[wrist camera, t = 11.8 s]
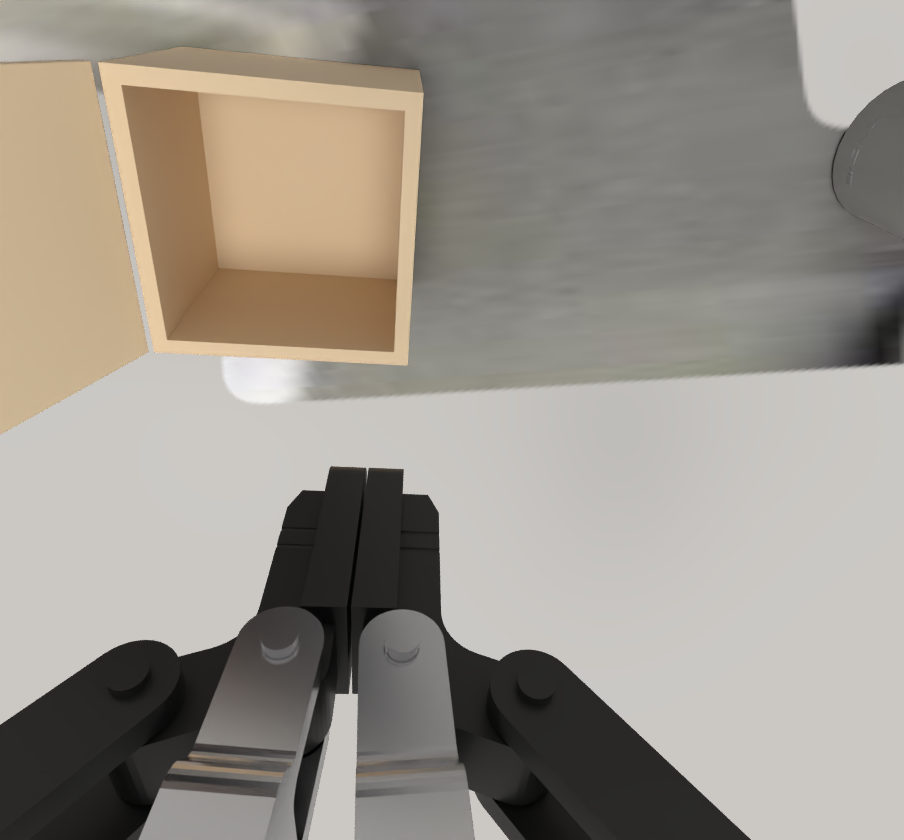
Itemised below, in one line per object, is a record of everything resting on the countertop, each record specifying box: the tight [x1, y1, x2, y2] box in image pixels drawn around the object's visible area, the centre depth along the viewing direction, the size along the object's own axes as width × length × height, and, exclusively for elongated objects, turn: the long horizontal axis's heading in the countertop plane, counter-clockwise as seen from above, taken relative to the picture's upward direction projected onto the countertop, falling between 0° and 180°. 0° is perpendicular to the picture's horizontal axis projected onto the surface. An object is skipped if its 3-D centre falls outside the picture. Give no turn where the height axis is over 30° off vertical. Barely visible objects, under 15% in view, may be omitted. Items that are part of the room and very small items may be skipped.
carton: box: [98, 46, 424, 365], centre depth 36 cm, size 14×14×12 cm
